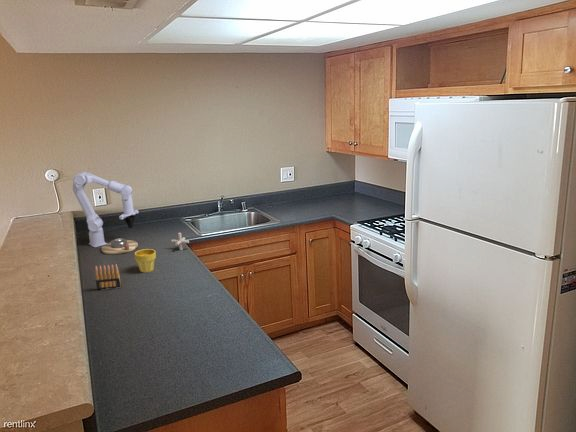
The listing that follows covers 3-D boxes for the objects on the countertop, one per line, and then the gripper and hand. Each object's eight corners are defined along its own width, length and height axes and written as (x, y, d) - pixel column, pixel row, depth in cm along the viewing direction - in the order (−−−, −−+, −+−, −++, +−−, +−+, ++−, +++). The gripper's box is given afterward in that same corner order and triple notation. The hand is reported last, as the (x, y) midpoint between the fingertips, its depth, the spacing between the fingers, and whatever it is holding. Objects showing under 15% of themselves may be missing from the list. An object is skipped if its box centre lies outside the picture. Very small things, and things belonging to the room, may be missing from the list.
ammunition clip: (121, 286, 214) (118, 262, 211) (120, 288, 212) (117, 264, 209) (97, 288, 212) (94, 265, 209) (96, 290, 210) (93, 266, 207)
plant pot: (161, 267, 235) (159, 250, 232) (148, 275, 226) (145, 256, 223) (146, 265, 239) (144, 247, 237) (132, 272, 230) (129, 254, 228)
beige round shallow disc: (109, 242, 275) (108, 235, 273) (142, 242, 275) (141, 235, 273) (96, 254, 255) (94, 247, 254) (131, 253, 255) (130, 246, 254)
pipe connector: (185, 253, 255) (184, 236, 253) (169, 252, 257) (167, 235, 254) (192, 247, 265) (191, 230, 262) (176, 246, 267) (175, 230, 264)
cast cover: (114, 243, 269) (113, 237, 268) (129, 243, 269) (128, 236, 268) (108, 248, 260) (107, 242, 259) (124, 248, 260) (123, 241, 259)
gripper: (125, 209, 261) (127, 231, 265) (141, 203, 274) (144, 225, 277) (115, 208, 263) (118, 230, 267) (132, 202, 276) (134, 223, 280)
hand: (130, 227), depth 272 cm, fingers closed
